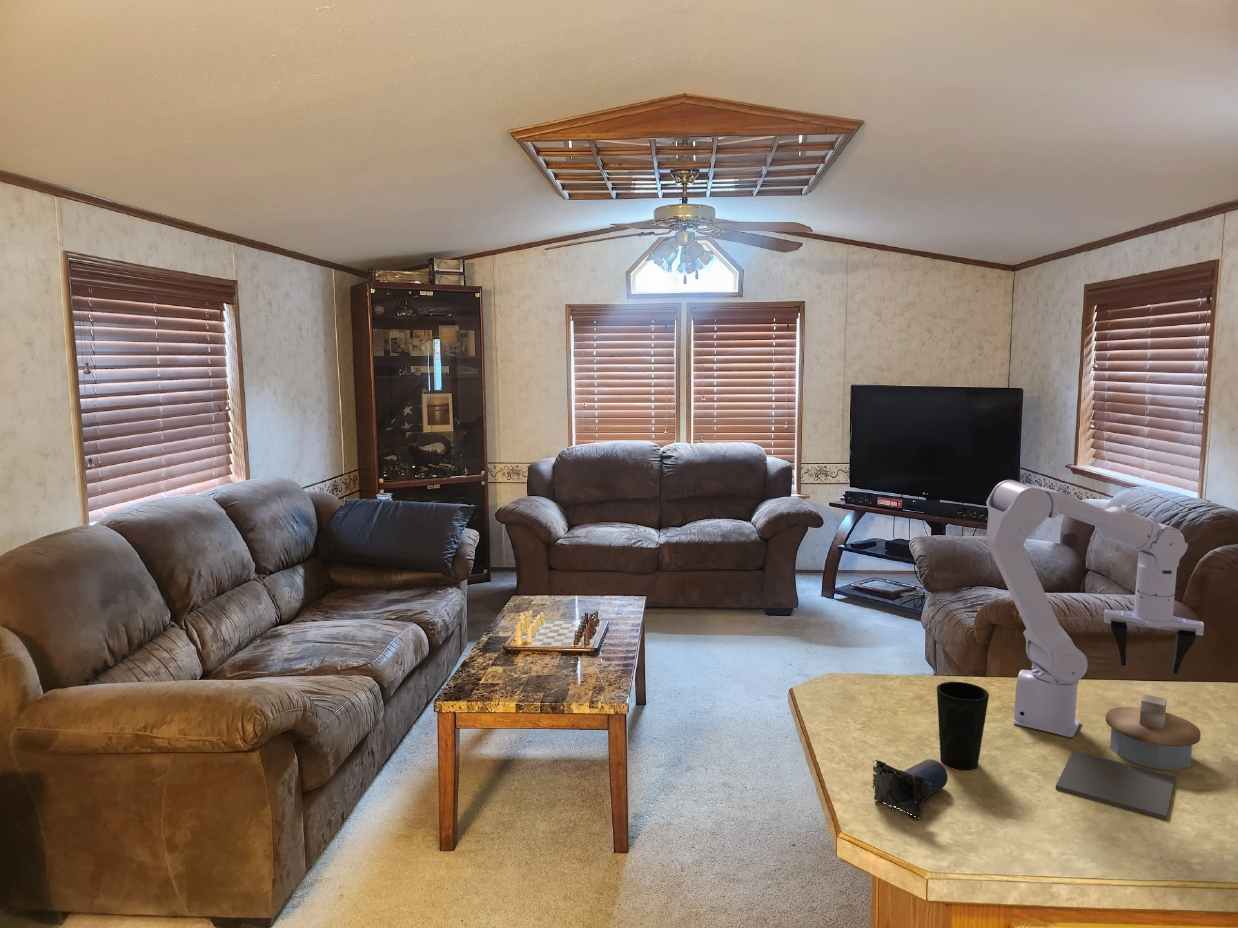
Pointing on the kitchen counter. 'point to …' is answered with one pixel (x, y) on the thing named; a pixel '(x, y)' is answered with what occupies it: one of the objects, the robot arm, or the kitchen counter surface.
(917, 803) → the dark blue flanged cylinder
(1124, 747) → the bowl
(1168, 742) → the lid
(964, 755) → the cup
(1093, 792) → the mat
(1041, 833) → the kitchen counter surface
